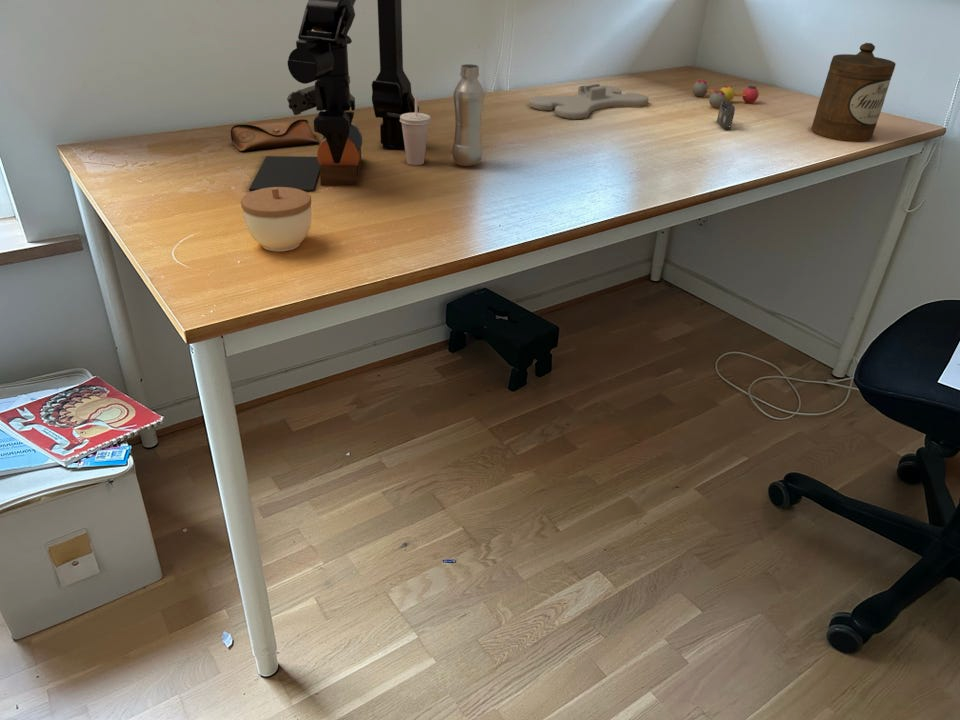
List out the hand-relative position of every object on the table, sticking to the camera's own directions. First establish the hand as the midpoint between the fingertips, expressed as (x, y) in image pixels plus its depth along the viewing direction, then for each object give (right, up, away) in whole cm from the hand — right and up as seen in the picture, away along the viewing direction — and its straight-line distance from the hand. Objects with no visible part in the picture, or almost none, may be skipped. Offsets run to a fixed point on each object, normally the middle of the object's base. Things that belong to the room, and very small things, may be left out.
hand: (338, 157), depth 143 cm
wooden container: (+122, +19, +49) cm, 133 cm away
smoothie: (+14, +3, +15) cm, 20 cm away
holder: (+58, +32, +63) cm, 92 cm away
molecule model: (+101, +36, +73) cm, 129 cm away
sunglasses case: (-18, +9, +22) cm, 30 cm away
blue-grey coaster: (-1, +6, +9) cm, 11 cm away
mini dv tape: (+92, +22, +50) cm, 107 cm away
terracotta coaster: (0, 0, 0) cm, 0 cm away
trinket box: (-5, -21, -23) cm, 32 cm away
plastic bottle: (+25, +2, +15) cm, 29 cm away
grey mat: (-11, -2, +5) cm, 12 cm away
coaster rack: (-1, -1, +7) cm, 7 cm away
